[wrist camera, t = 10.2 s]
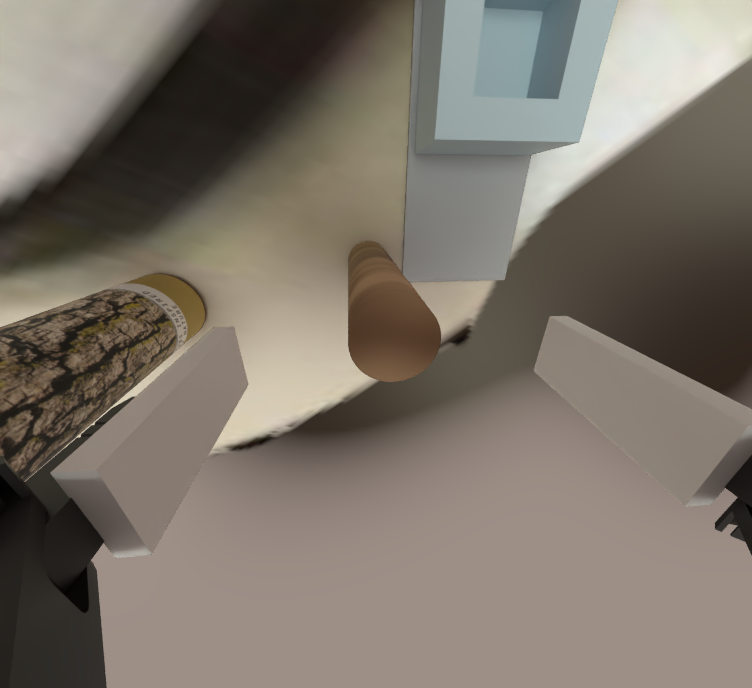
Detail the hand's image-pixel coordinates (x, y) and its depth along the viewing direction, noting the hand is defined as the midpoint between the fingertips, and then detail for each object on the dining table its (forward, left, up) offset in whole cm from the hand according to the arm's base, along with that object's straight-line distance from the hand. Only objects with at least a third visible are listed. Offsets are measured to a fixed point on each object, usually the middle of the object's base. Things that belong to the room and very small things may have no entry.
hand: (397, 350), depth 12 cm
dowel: (0, 0, -18) cm, 18 cm away
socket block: (-14, +9, -18) cm, 25 cm away
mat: (-10, +9, -18) cm, 22 cm away
